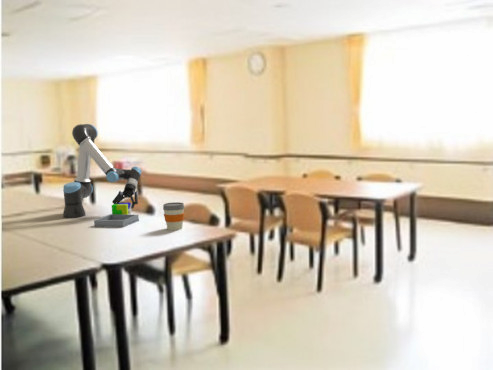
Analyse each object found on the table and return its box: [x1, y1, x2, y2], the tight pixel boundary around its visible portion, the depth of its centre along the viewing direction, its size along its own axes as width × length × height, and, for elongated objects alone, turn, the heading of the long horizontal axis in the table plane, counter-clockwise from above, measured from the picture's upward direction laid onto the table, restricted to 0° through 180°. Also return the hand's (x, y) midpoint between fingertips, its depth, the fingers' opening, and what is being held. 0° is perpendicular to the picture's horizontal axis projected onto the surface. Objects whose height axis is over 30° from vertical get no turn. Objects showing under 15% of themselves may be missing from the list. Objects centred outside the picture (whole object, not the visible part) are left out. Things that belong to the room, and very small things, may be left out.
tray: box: [93, 213, 140, 228], centre depth 341 cm, size 20×20×4 cm
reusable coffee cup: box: [162, 201, 185, 231], centre depth 318 cm, size 13×13×15 cm
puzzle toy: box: [111, 202, 132, 215], centre depth 359 cm, size 10×10×10 cm
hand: (121, 211), depth 359 cm, fingers closed on puzzle toy, 11 cm apart
